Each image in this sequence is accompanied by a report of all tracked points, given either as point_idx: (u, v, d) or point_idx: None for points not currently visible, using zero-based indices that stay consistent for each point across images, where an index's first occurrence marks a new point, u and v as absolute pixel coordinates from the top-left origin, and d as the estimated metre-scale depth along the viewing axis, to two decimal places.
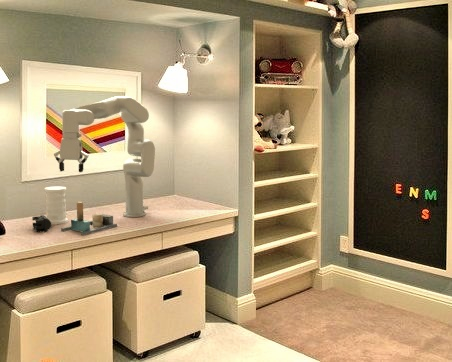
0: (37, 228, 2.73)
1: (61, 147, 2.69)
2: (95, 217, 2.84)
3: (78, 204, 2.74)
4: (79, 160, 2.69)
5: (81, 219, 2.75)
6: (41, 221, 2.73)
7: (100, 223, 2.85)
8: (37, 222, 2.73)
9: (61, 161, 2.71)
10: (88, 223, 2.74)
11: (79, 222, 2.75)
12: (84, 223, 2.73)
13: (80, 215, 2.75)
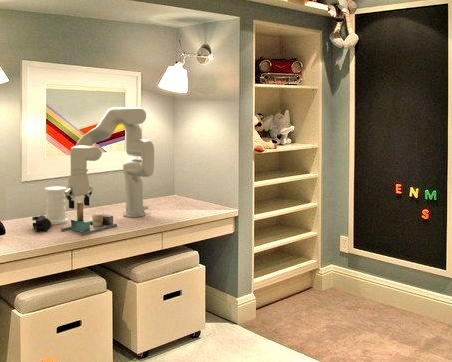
0: (37, 228, 2.73)
1: (76, 184, 2.69)
2: (95, 217, 2.84)
3: (78, 204, 2.74)
4: (88, 194, 2.78)
5: (81, 219, 2.75)
6: (41, 221, 2.73)
7: (100, 223, 2.85)
8: (37, 222, 2.73)
9: (73, 198, 2.70)
10: (88, 223, 2.74)
11: (79, 222, 2.75)
12: (84, 223, 2.73)
13: (80, 215, 2.75)
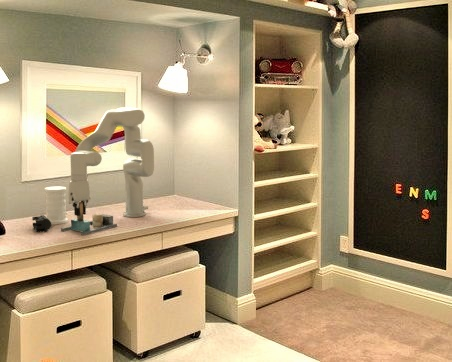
0: (37, 228, 2.73)
1: (76, 190, 2.70)
2: (95, 217, 2.84)
3: None
4: (85, 202, 2.77)
5: (81, 219, 2.75)
6: (41, 221, 2.73)
7: (100, 223, 2.85)
8: (37, 222, 2.73)
9: None
10: (88, 223, 2.74)
11: (79, 222, 2.75)
12: (84, 223, 2.73)
13: (80, 215, 2.75)
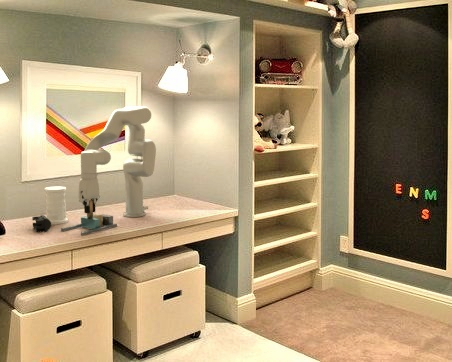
0: (37, 228, 2.73)
1: (86, 188, 2.75)
2: (95, 217, 2.84)
3: None
4: (95, 200, 2.82)
5: (91, 217, 2.81)
6: (41, 221, 2.73)
7: (100, 223, 2.85)
8: (37, 222, 2.73)
9: None
10: (98, 221, 2.80)
11: (89, 220, 2.80)
12: (94, 221, 2.78)
13: (90, 213, 2.80)
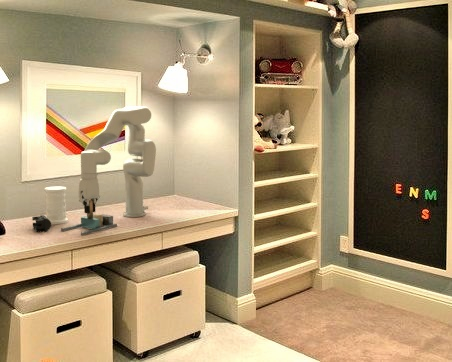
0: (37, 228, 2.73)
1: (86, 188, 2.75)
2: (95, 217, 2.84)
3: None
4: (95, 200, 2.82)
5: (91, 217, 2.81)
6: (41, 221, 2.73)
7: (100, 223, 2.85)
8: (37, 222, 2.73)
9: None
10: (98, 221, 2.80)
11: (89, 220, 2.80)
12: (94, 221, 2.78)
13: (90, 213, 2.80)
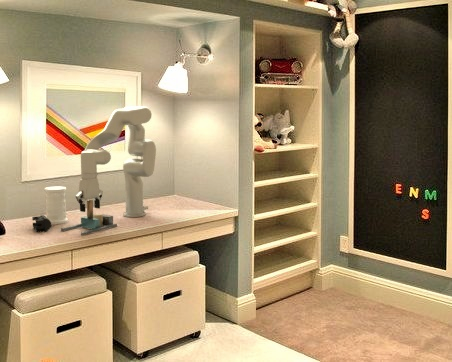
0: (37, 228, 2.73)
1: (86, 188, 2.75)
2: (95, 217, 2.84)
3: (88, 202, 2.79)
4: (98, 197, 2.84)
5: (91, 217, 2.81)
6: (41, 221, 2.73)
7: (100, 223, 2.85)
8: (37, 222, 2.73)
9: None
10: (98, 221, 2.80)
11: (89, 220, 2.80)
12: (94, 221, 2.78)
13: (90, 213, 2.80)
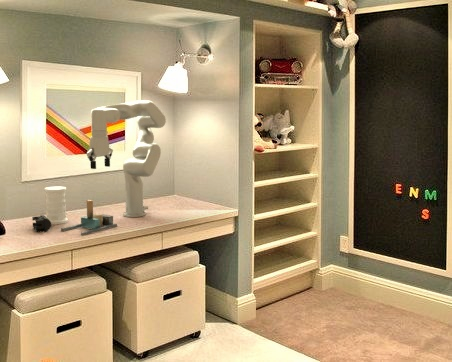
0: (37, 228, 2.73)
1: (97, 145, 2.78)
2: (95, 217, 2.84)
3: (88, 202, 2.79)
4: (109, 155, 2.87)
5: (91, 217, 2.81)
6: (41, 221, 2.73)
7: (100, 223, 2.85)
8: (37, 222, 2.72)
9: (94, 159, 2.80)
10: (98, 221, 2.80)
11: (89, 220, 2.80)
12: (94, 221, 2.78)
13: (90, 213, 2.80)
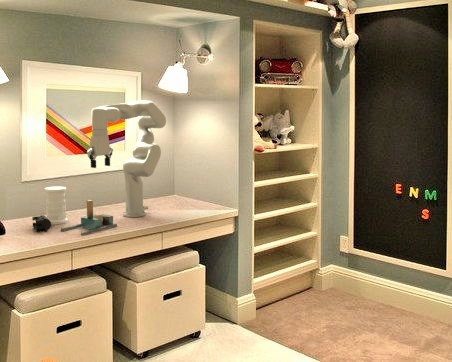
0: (37, 228, 2.73)
1: (97, 144, 2.79)
2: (95, 217, 2.84)
3: (88, 202, 2.79)
4: (109, 154, 2.87)
5: (91, 217, 2.81)
6: (41, 221, 2.73)
7: (100, 223, 2.85)
8: (37, 222, 2.73)
9: None
10: (98, 221, 2.80)
11: (89, 220, 2.80)
12: (94, 221, 2.78)
13: (90, 213, 2.80)
